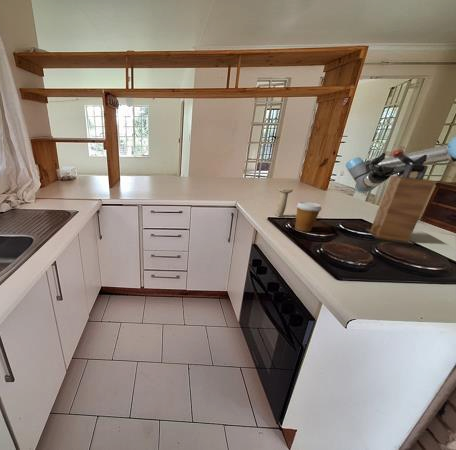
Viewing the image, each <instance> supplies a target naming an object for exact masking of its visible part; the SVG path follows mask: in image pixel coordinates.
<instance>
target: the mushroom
mask: <svg viewBox="0 0 456 450" xmlns="http://www.w3.org/2000/svg"><path fill="white" fill-rule="evenodd" d="M278 191H279V192H280V195H279V199H278V202H277V206H276V213H275V216H276V217H279V218H282V217H284V213H285V211H286V208H287V202H288V196H289V194H290V193H293V188H289V187H278Z"/></svg>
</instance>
